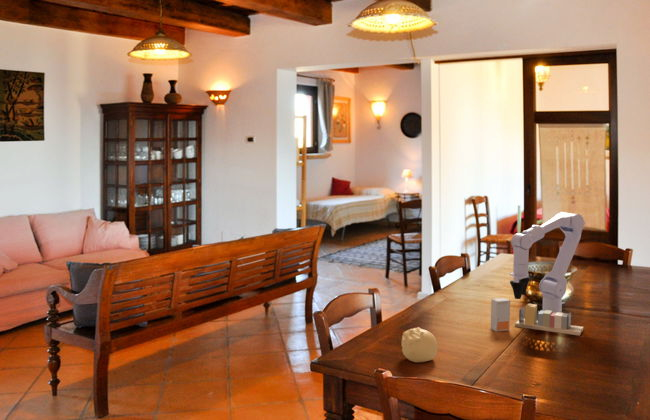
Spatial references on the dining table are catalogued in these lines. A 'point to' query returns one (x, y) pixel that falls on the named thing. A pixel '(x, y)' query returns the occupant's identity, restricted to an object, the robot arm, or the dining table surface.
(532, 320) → the tan rectangular block
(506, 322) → the skincare box
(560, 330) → the shelf board
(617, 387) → the dining table surface
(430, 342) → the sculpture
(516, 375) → the dining table surface
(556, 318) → the books
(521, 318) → the bookends
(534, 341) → the dining table surface
